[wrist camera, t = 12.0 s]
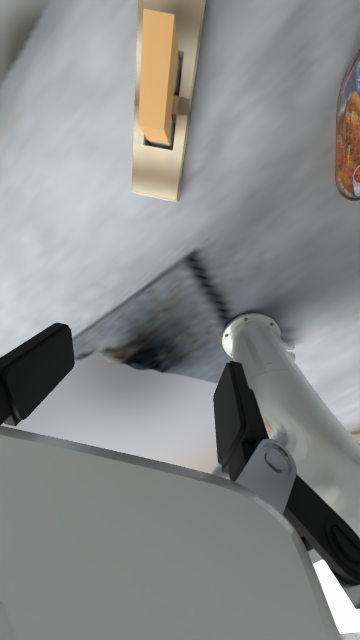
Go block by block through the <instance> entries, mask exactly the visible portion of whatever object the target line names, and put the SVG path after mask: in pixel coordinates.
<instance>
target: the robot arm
mask: <svg viewBox="0 0 360 640" xmlns="http://www.w3.org/2000/svg"><path fill="white" fill-rule="evenodd" d="M222 344H223V348H224V350H225V351H226V353H227V354H228V355H229V356H230V357H232V358H233V359H234V361H230V363H226V366H225V368H224V371H223V373H222V376H221V378H220V381H219V383H218V386H217V388H216V391H215V393H214V399H213V401H214V414H215V428H216V442H217V455H218V464H216V466H215V467H214V468H213V470H212V471H211V474H209V473H205V472H201V471H197V470H193V469H189V468H185V467H181V466H177V465H173V464H169V463H165V462H160V461H156V460H151V459H147V458H143V457H138V456H134V455H130V454H125V453H121V452H117V451H112V450H108V449H103V448H99V447H94V446H90V445H86V444H81V443H77V442H72V441H68V440H63V439H58V438H54V437H50V436H45V435H40V434H36V433H31V432H27V431H22V430H17V429H13V428H8V427H4V426H0V640H360V443H359V442H358V441H357V440H356V439H355V438H354V437H353V436H352V435H351V434H350V433H349V431H348V430H347V429H346V428H345V427H344V426H343V425H342V424H341V422H340V421H339V420H338V419H337V418H336V417H335V416H334V414H333V413H332V412H331V411H330V409H329V408H328V407H327V406H326V404H325V403H324V402H323V401H322V399H321V398H320V397H319V395H318V394H317V393H316V391H315V390H314V388H313V387H312V386H311V384H310V383H309V382H308V380H307V379H306V377H305V376H304V375H303V373H302V372H301V370H300V369H299V368H298V366H297V365H296V363H295V362H294V360H295V354H294V353H291V352H287V351H286V349H288V350H293V349H294V344H291V343H284V342H283V340H282V339H281V332H280V329H279V326H278V325H277V323H276V322H275V321H274V320H273V319H272V318H270V317H269V316H267V315H264V314H260V313H248V314H244V315H240V316H238V317H236V318H235V319H233V320H232V321H230V322H229V324H228V325H227V326H226V327H225V329H224V331H223V334H222ZM74 364H75V361H74V352H73V343H72V334H71V329H70V328H69V326H68V325H66V324H61V323H54V324H53V325H51V326H50V327H48V328H47V329H45V330H43V331H42V332H40V333H39V334H37V335H35V336H34V337H32V338H31V339H29V340H28V341H26V342H24V343H23V344H21V345H20V346H18V347H17V348H15V349H13V350H12V351H10V352H9V353H7V354H6V355H4V356H2V357H1V358H0V425H1V424H2V423H3V422H4V423H5V424H7V425H12V426H16V425H17V424H18V423H19V422H20V421H21V420H24V419H26V418H27V417H28V416H29V415H30V414H31V413H32V411H34V409H35V408H36V407H37V406H38V405H39V404H40V403H41V402H42V401H43V400H44V399H45V398H46V397H47V395H48V394H49V393H50V392H51V391H52V390H53V389H54V388H55V387H56V386H57V385H58V383H59V382H60V381H61V380H62V379H63V378H64V377H65V376H66V375H67V374H68V373H69V372H70V371H71V370H72V368H73V367H74ZM266 430H267V431H269V432H270V433H272V434H273V435H274V436H273V437H272V438H271V439H269V437H268V434H267V431H266Z"/></svg>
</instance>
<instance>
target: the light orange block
mask: <svg viewBox="0 0 360 640" xmlns="http://www.w3.org/2000/svg"><path fill="white" fill-rule="evenodd" d="M180 79H181V74H180V65H179V57H178V42H177V33H176V24H175V15H174V14H169V13H164V12H159V11H154V10H148V9H143V31H142V54H141V77H140V101H139V124H138V125H139V126H140V128H141V130H142V132H143V133H144V135H145V137H146V138H147V140H149V141H150V143H151V145H152V147H157V148H162V149H167V150H172V149H173V141H174V132H175V129H174V125H173V121H172V108H173V99H174V96H179V87H180Z"/></svg>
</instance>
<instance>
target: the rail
mask: <svg viewBox="0 0 360 640" xmlns="http://www.w3.org/2000/svg"><path fill="white" fill-rule="evenodd" d="M205 6H206V0H138V23H137V52H136V81H135V110H134V139H133V168H132V192H134V193H136V194H138V195H143V196H148V197H154V198H159V199H164V200H169V201H174V202H178V200H179V193H180V186H181V178H182V171H183V164H184V157H185V150H186V142H187V135H188V128H189V121H190V114H191V106H192V99H193V92H194V85H195V78H196V70H197V63H198V56H199V49H200V42H201V34H202V27H203V20H204V13H205ZM143 9H148V10H154V11H159V12H164V13H169V14H174V15H175V24H176V33H177V42H178V57H179V65H180V70H182V74H181V83H180V92H179V96H174V99H173V108H172V121H173V125H176V127H175V135H174V144H173V151H172V150H167V149H162V148H157V147H152V146H149V140H147V138H146V137H145V135H144V133H143V132H142V130H141V128H140V126H139V125H138V124H139V101H140V77H141V54H142V31H143Z"/></svg>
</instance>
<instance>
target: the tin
mask: <svg viewBox="0 0 360 640" xmlns="http://www.w3.org/2000/svg"><path fill="white" fill-rule="evenodd" d="M335 178H336V185H337V188H338V190H339V192H340V194H341V195H342V196H343V197H344V198H346V199H347V200H351V201H358V200H360V50H359V51H358V53H357V54H356V56H355V58H354V59H353V61H352V63H351V65H350V67H349V69H348V71H347V74H346V76H345V79H344V81H343V84H342V87H341V90H340V95H339V99H338V104H337V119H336V172H335Z"/></svg>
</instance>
